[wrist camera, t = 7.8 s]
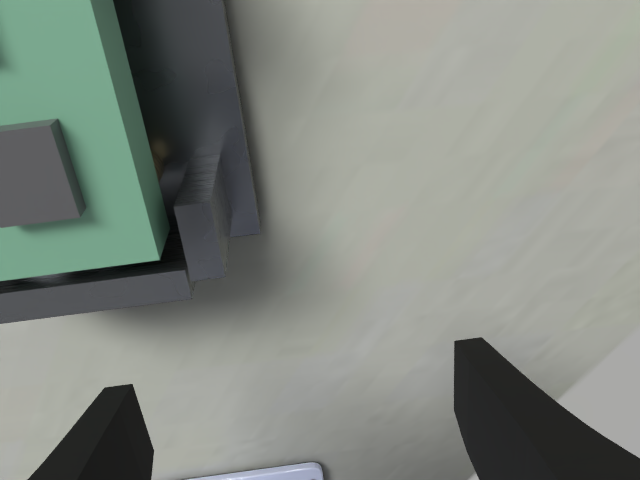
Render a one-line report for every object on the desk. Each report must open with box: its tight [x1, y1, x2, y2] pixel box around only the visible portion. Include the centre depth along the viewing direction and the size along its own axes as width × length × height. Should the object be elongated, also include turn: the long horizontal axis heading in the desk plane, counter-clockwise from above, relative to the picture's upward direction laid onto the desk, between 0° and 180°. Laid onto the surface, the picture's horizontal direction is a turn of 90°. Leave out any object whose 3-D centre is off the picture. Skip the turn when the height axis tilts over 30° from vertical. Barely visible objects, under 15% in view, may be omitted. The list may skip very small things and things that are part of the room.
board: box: [0, 0, 170, 281], centre depth 15 cm, size 5×9×3 cm, turn 6°
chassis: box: [0, 0, 260, 324], centre depth 17 cm, size 10×12×5 cm
